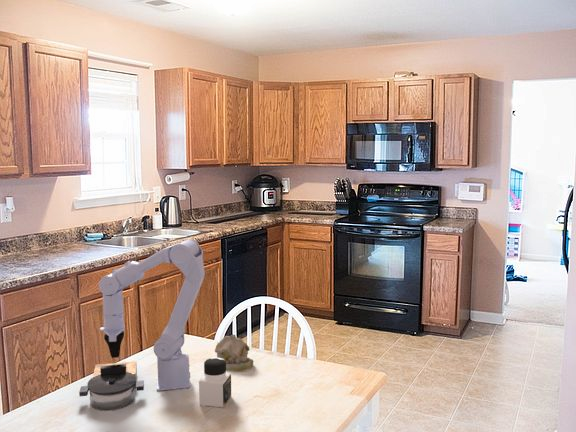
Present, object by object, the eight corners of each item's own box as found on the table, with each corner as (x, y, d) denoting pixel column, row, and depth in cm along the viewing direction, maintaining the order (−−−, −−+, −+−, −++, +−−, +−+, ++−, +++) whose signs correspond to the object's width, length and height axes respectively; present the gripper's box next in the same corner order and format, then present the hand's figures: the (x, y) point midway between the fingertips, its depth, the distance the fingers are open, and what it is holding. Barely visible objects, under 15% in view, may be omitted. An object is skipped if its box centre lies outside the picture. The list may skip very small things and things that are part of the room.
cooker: (145, 374, 173) (144, 360, 172) (143, 406, 151) (143, 391, 151) (87, 379, 169) (87, 365, 168) (78, 413, 147) (77, 397, 147)
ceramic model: (206, 365, 181) (205, 335, 180) (228, 354, 190) (228, 326, 189) (239, 374, 173) (239, 344, 172) (261, 363, 182) (261, 334, 181)
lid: (137, 372, 162) (136, 363, 162) (135, 391, 150) (135, 381, 149) (90, 377, 159) (89, 367, 159) (84, 396, 147) (84, 385, 146)
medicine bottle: (223, 408, 151) (223, 365, 149) (199, 405, 152) (198, 363, 151) (231, 396, 158) (231, 356, 156) (207, 394, 159) (207, 354, 158)
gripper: (101, 307, 172) (103, 349, 173) (97, 321, 158) (99, 367, 159) (125, 305, 173) (126, 347, 175) (122, 319, 159) (124, 364, 161)
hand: (115, 356), depth 167 cm, fingers closed
